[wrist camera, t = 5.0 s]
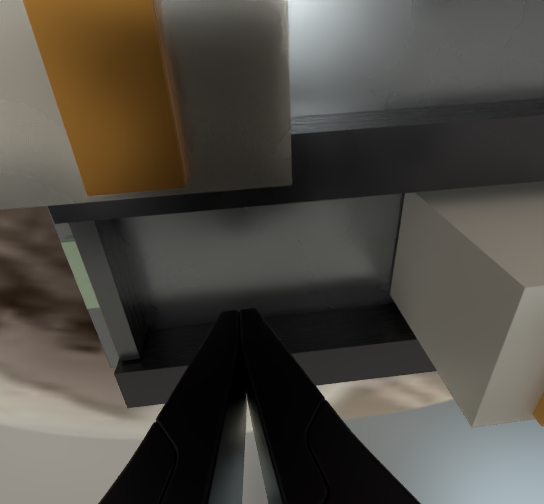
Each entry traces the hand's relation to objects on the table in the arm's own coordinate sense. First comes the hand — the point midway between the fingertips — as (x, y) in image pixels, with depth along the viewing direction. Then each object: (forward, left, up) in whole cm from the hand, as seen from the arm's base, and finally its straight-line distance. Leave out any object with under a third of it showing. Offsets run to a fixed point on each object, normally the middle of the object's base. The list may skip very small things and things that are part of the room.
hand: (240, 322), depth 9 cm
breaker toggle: (-7, 0, -3) cm, 8 cm away
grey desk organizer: (-3, -2, -4) cm, 5 cm away
